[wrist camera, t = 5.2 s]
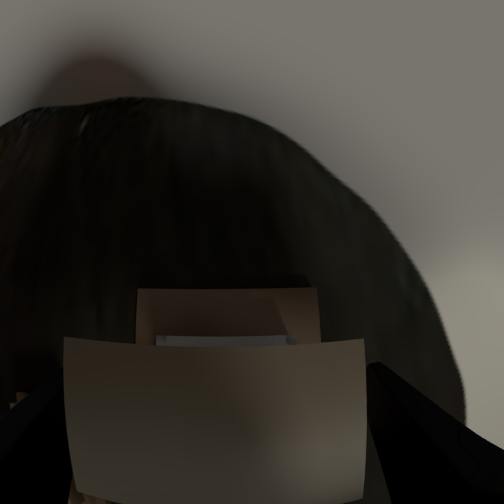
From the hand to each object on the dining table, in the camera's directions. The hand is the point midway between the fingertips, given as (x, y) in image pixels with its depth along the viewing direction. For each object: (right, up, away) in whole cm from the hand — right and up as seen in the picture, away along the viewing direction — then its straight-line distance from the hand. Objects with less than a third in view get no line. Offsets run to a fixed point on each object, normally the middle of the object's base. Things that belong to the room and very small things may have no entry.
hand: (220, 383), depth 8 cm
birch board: (0, -3, +6) cm, 7 cm away
